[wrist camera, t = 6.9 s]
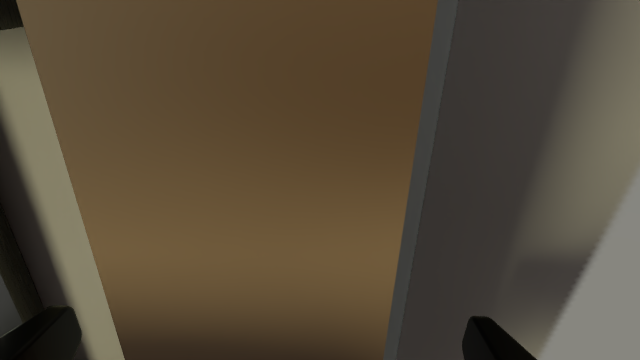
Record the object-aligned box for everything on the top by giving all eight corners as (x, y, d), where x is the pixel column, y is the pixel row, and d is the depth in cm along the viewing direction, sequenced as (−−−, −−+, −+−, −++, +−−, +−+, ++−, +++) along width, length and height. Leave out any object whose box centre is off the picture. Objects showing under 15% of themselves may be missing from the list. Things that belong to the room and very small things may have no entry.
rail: (336, 488, 15) (340, 641, 12) (235, 486, 15) (209, 638, 12) (411, -347, 5) (588, -1001, 2) (118, -357, 5) (-301, -1047, 2)
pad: (368, 491, 17) (369, 508, 16) (205, 487, 17) (201, 504, 16) (527, -482, 5) (552, -535, 5) (-2, -503, 5) (-39, -560, 5)
